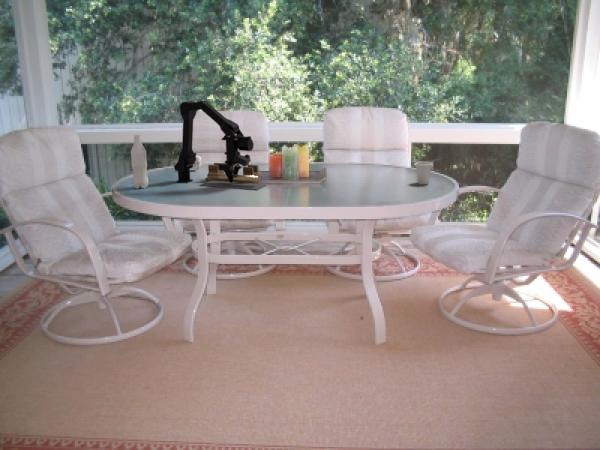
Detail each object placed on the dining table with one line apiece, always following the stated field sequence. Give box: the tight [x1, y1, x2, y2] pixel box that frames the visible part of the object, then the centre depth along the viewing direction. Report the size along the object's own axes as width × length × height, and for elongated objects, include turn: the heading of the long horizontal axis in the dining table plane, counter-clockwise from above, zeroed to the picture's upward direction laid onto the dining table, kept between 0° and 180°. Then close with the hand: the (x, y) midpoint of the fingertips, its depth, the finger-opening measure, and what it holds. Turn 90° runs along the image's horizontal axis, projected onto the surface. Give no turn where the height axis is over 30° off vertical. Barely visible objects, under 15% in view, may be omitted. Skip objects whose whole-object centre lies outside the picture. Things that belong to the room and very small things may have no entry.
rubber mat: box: [200, 181, 267, 191], centre depth 290 cm, size 11×30×1 cm, turn 71°
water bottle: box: [130, 134, 149, 190], centre depth 283 cm, size 7×7×25 cm
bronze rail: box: [206, 172, 260, 184], centre depth 289 cm, size 4×26×4 cm, turn 70°
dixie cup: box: [415, 161, 433, 185], centre depth 293 cm, size 8×8×10 cm
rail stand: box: [205, 162, 263, 184], centre depth 300 cm, size 9×27×8 cm, turn 71°
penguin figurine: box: [191, 154, 202, 172], centre depth 329 cm, size 6×8×12 cm
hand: (233, 182), depth 289 cm, fingers closed on bronze rail, 3 cm apart
